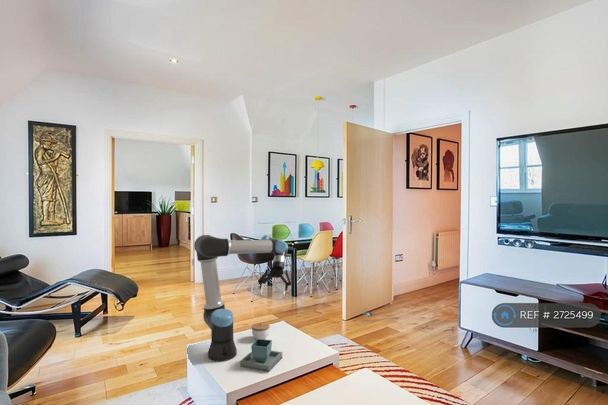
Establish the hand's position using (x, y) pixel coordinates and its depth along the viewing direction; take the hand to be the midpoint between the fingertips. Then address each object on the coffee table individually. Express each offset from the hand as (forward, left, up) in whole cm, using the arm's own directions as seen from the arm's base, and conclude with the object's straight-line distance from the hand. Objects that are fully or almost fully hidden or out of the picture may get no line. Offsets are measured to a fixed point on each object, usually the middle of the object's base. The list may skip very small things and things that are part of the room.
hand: (271, 294), depth 190 cm
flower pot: (+4, -19, -29) cm, 35 cm away
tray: (+4, -20, -30) cm, 36 cm away
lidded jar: (-11, +7, -30) cm, 33 cm away
